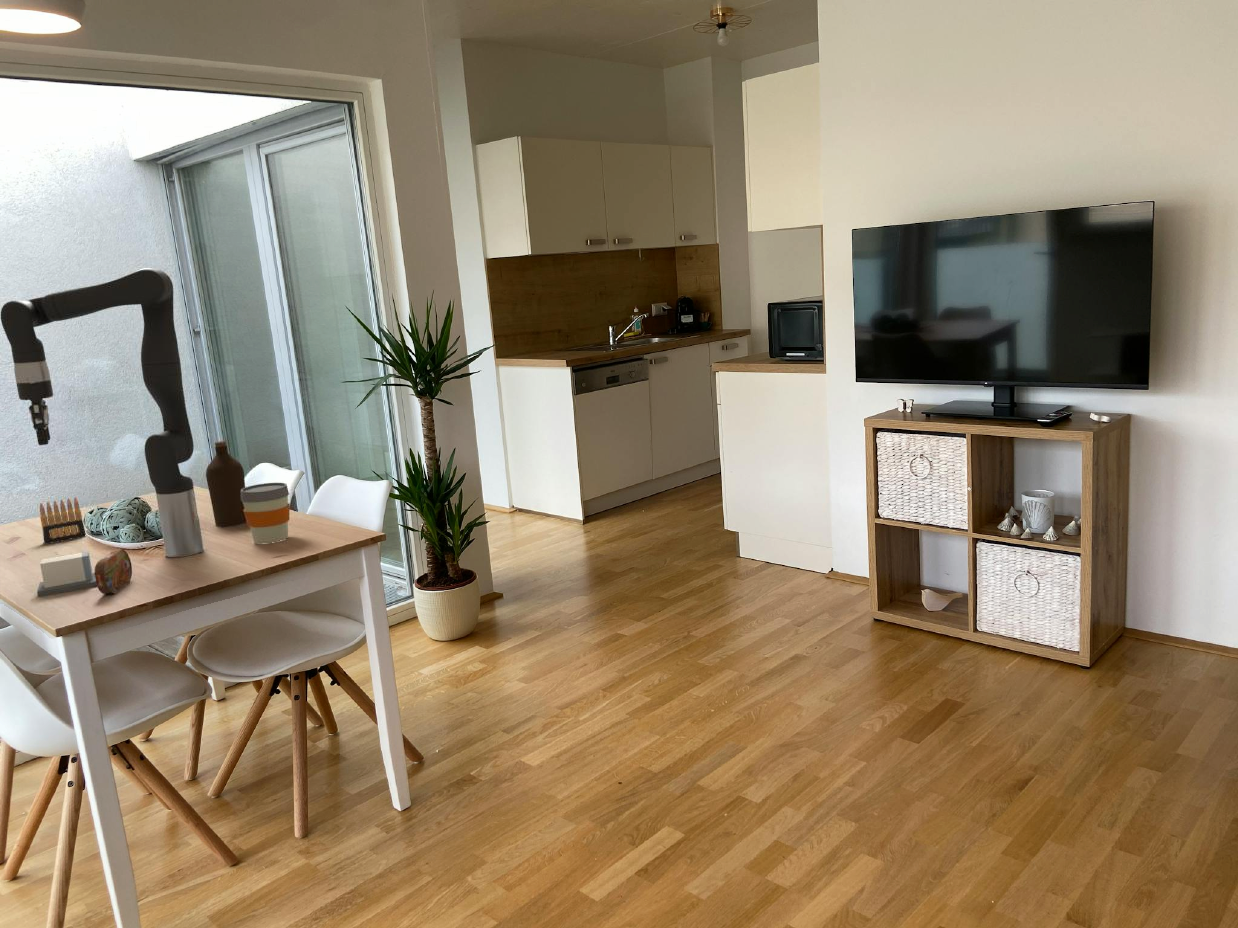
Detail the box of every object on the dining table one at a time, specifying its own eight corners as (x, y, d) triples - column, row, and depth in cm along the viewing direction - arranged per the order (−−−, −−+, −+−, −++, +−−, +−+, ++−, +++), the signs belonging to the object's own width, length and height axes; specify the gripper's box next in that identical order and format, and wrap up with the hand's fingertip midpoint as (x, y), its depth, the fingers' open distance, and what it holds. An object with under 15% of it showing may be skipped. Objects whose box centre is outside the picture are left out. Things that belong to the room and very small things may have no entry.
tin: (110, 597, 218) (104, 563, 217) (96, 599, 218) (89, 564, 217) (135, 578, 233) (129, 545, 232) (121, 579, 233) (116, 546, 231)
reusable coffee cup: (237, 545, 258) (229, 492, 255) (265, 533, 270) (258, 482, 267) (276, 546, 255) (269, 492, 252) (303, 533, 266) (297, 482, 264)
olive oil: (236, 527, 280) (224, 444, 275) (205, 527, 282) (193, 445, 278) (257, 518, 290) (246, 438, 285) (228, 518, 292) (216, 438, 288)
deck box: (46, 583, 229) (41, 559, 228) (92, 574, 234) (88, 551, 233) (44, 588, 225) (40, 563, 224) (92, 579, 230) (88, 555, 229)
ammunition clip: (45, 543, 274) (37, 504, 272) (44, 542, 276) (36, 503, 274) (86, 536, 281) (79, 497, 278) (85, 535, 282) (78, 496, 280)
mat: (100, 576, 236) (99, 571, 236) (99, 585, 229) (99, 580, 228) (40, 586, 231) (39, 582, 230) (38, 596, 223) (37, 591, 223)
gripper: (18, 379, 244) (29, 441, 247) (13, 383, 231) (25, 448, 234) (51, 376, 247) (62, 437, 250) (48, 380, 234) (60, 444, 238)
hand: (44, 442), depth 242 cm, fingers open, 8 cm apart
